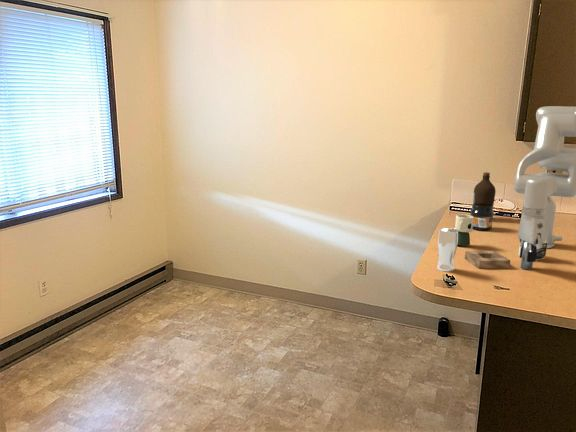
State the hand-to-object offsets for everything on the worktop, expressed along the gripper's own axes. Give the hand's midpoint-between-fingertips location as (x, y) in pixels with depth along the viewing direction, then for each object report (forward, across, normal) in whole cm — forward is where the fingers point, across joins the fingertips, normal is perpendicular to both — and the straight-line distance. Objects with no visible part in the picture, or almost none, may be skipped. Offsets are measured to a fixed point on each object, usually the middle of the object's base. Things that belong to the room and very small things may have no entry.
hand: (527, 259), depth 185 cm
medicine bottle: (+4, +13, -10) cm, 17 cm away
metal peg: (+3, 0, 0) cm, 3 cm away
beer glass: (+4, +1, +31) cm, 31 cm away
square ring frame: (+4, +7, +12) cm, 14 cm away
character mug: (+4, +31, +11) cm, 33 cm away
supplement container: (+4, +59, -11) cm, 60 cm away
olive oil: (+4, +78, -21) cm, 81 cm away
